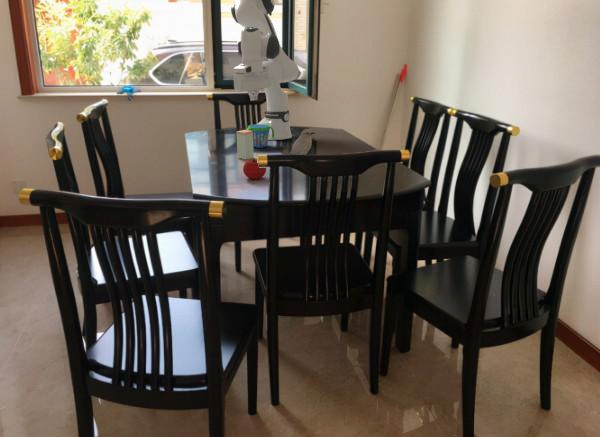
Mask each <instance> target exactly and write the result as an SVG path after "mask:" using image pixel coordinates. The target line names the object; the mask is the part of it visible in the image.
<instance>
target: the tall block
mask: <svg viewBox="0 0 600 437" xmlns="http://www.w3.org/2000/svg"><path fill="white" fill-rule="evenodd" d="M236 150H237V159H238V158H242V159H241V160H243V159H248V160H251V159H254V158H255V157H254V156H255V155H254V147H253V131H249V130H246V129H242V130H238V131H236ZM253 157H254V158H253ZM250 158H251V159H250Z"/></svg>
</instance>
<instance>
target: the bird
mask: <svg viewBox="0 0 600 437" xmlns="http://www.w3.org/2000/svg"><path fill="white" fill-rule="evenodd" d="M315 134H316V132H314V131H313V130H312V129H309V128H305V129H303V130H302V131H301V132H300V135H299V136H298V138H297V139H296V140H295V141H294V144H293V146H292V147H291V150H290V151H289V152H288V155H289V154H306V155H307V154H308V153H309V151H310V149H311V148H312V143H313V139H312V138H313V135H315Z"/></svg>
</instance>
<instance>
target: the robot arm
mask: <svg viewBox="0 0 600 437" xmlns="http://www.w3.org/2000/svg"><path fill="white" fill-rule="evenodd" d="M274 9H275V0H235V2H233V4H232V5H231V7H230V13H231V16H232V18H233V20H234V21H235V23H237V24H239V25H240V26H242V27H243V28H242V29H241V32H240V34H241V35H240V38H238V40H237V41H236V42H237V51H238V52H237V54H238V55H239V56H240V57H241V63H239V64H238V65H236V66H234V67H233V73H234V75H233V89H234V90H235V92H247V94H248V96H249V99H250V100H249V101H250V102H252V101H253V102H254V101H258V96H259V93H260V90H262V89H263V91H264V94H265V97H266V110H265V111H262V113H263V115H264V118H262V120H260V121H259V122H258V123H257V124H265V125H269V126H270V127H272V128H273V130H274V138H272V137H271V136H272V130H271V128H270V130H269V136H268V141H274V140H278V141H279V140H280V141H282V140H286V139H287V140H288V139H291V138H292V137H293V136H292V132H291V127H290V110H289V95H288V94H287V93H286V91H284V90H282V87H281V83H289V82H292V81H295V80H296V79H297V77H299V70H300V69H299V66H298V64H297V62H295V61H294V60H292V59H291V58H290V57H289V56H288V55H287V54H286V53H285V51H284V50H283V48H282V46H281V43H280V41H279V38H278V35H277V33H276V30H275V27H274V24H273V22H272V20H271V18H270V17H272V13H273V11H274ZM269 16H270V17H269ZM263 59H264V60H265V59H267V60H265V61H263Z"/></svg>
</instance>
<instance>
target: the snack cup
mask: <svg viewBox="0 0 600 437" xmlns="http://www.w3.org/2000/svg"><path fill="white" fill-rule="evenodd" d="M270 128H271V130H272V136H271V137H272V138H274V130H273V128H272V127H270V126H269V125H265V124H258V123H257V124H255V123H254V124H249V125H248V126H247V128H246V129H245V130H249V131H253V148H255V147H256V149H258V148H259V149H262V148H267V146H268V145H269V140H268V136H269V130H270Z"/></svg>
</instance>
